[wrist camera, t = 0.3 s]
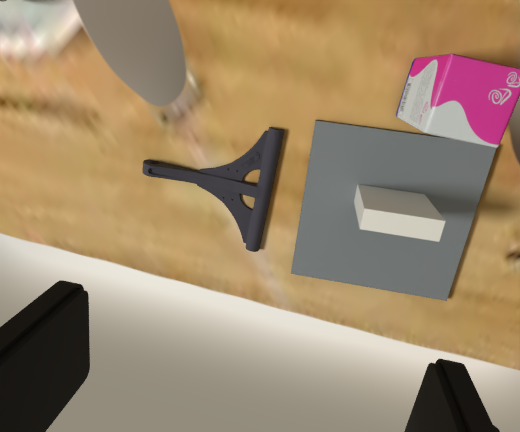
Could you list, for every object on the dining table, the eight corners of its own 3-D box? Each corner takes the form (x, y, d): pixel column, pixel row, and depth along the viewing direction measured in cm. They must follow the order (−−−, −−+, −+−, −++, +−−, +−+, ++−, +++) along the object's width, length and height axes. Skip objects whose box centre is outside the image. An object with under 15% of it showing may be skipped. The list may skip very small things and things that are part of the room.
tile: (357, 184, 43) (364, 208, 36) (424, 194, 43) (445, 221, 35) (353, 203, 44) (359, 230, 37) (419, 213, 43) (438, 243, 36)
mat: (315, 120, 42) (315, 120, 42) (495, 144, 40) (497, 145, 40) (291, 271, 49) (291, 273, 48) (445, 298, 47) (446, 300, 46)
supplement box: (452, 129, 41) (498, 151, 30) (394, 116, 41) (418, 133, 30) (475, 69, 38) (533, 70, 28) (413, 56, 39) (447, 52, 28)
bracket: (154, 100, 45) (143, 102, 42) (285, 129, 44) (282, 133, 41) (144, 218, 50) (134, 227, 48) (260, 246, 49) (256, 256, 47)
